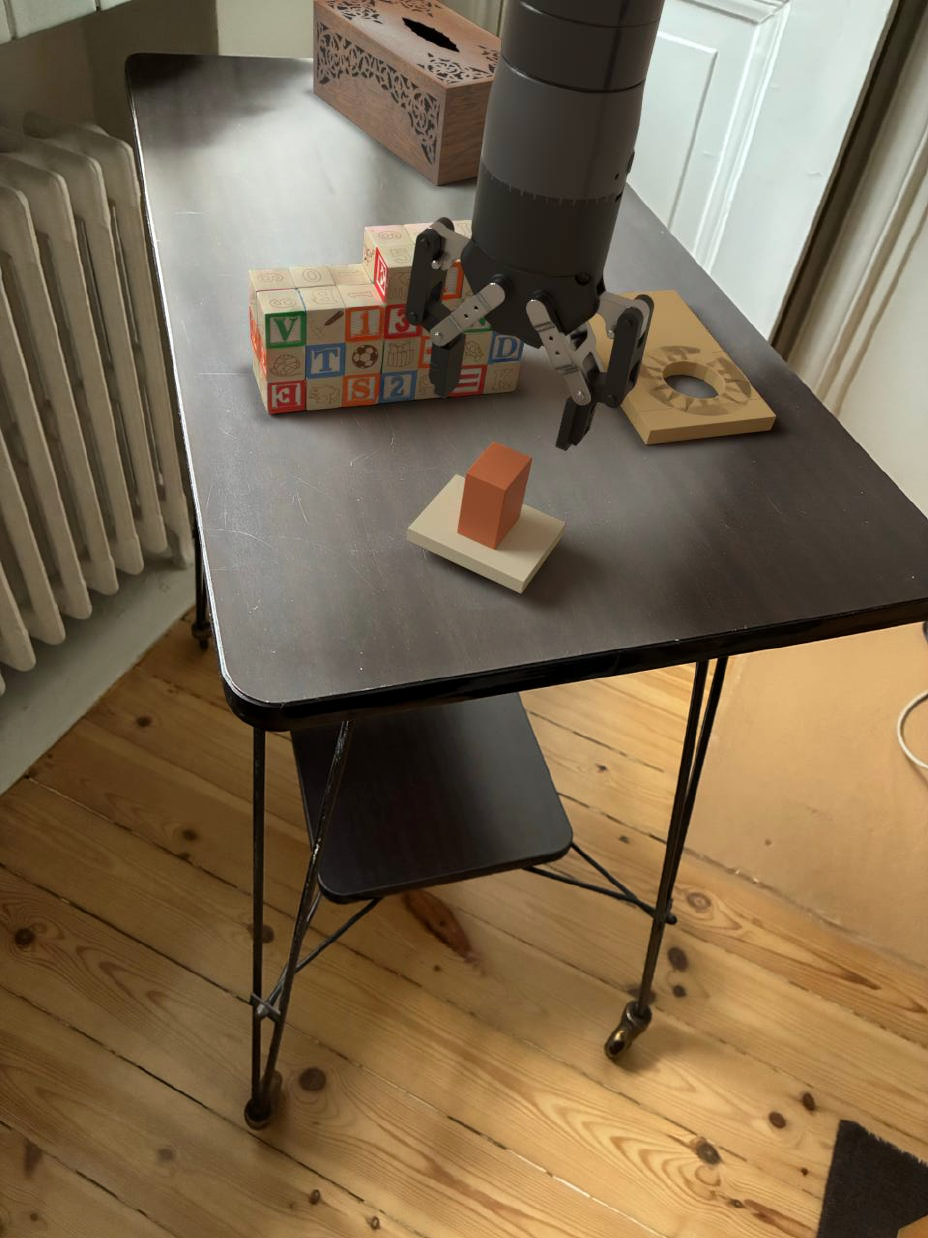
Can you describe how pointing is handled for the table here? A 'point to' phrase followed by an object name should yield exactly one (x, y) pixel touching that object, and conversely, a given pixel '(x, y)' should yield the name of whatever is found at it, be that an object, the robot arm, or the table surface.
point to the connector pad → (478, 557)
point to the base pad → (690, 352)
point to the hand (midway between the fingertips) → (505, 416)
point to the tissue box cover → (408, 79)
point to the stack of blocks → (363, 331)
